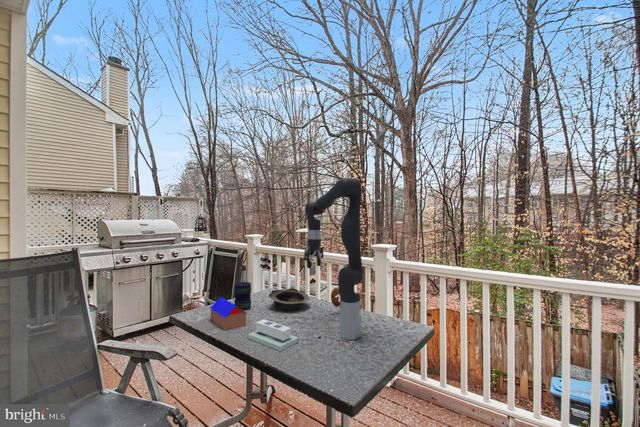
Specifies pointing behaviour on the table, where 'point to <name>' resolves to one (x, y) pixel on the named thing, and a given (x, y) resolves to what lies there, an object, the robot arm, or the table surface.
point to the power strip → (273, 330)
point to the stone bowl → (288, 299)
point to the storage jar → (243, 295)
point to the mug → (333, 298)
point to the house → (227, 314)
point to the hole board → (272, 340)
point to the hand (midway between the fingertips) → (314, 267)
